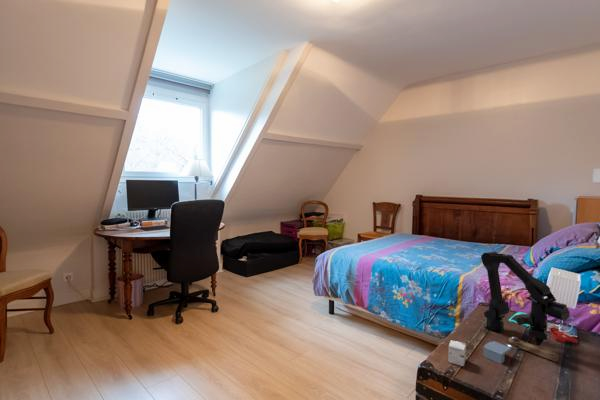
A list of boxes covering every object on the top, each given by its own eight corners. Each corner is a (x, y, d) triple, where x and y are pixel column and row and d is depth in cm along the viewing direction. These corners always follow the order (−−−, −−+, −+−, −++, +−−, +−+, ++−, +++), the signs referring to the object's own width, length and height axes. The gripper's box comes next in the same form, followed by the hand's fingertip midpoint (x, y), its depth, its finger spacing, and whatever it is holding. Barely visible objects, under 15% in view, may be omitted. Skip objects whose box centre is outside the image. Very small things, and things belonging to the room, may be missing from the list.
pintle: (502, 344, 146) (502, 336, 145) (509, 340, 149) (510, 332, 149) (519, 351, 140) (519, 343, 139) (526, 346, 143) (526, 338, 143)
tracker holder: (581, 339, 147) (574, 340, 142) (577, 347, 148) (570, 349, 142) (552, 323, 157) (544, 324, 152) (548, 331, 158) (540, 332, 152)
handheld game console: (540, 319, 171) (540, 316, 171) (530, 328, 161) (530, 325, 161) (518, 313, 179) (518, 311, 179) (508, 321, 169) (508, 319, 169)
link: (507, 343, 145) (507, 339, 145) (511, 340, 147) (511, 336, 147) (555, 362, 130) (555, 357, 130) (559, 359, 132) (559, 354, 132)
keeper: (480, 354, 138) (480, 345, 137) (490, 348, 142) (490, 339, 142) (500, 363, 131) (501, 354, 130) (511, 357, 135) (511, 347, 135)
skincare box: (448, 362, 133) (448, 345, 132) (450, 355, 138) (450, 339, 137) (464, 366, 129) (464, 349, 129) (465, 359, 134) (466, 343, 134)
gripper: (518, 301, 153) (517, 332, 154) (515, 314, 138) (514, 348, 139) (547, 306, 146) (546, 338, 147) (547, 321, 131) (546, 357, 132)
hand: (537, 345), depth 141 cm, fingers closed
